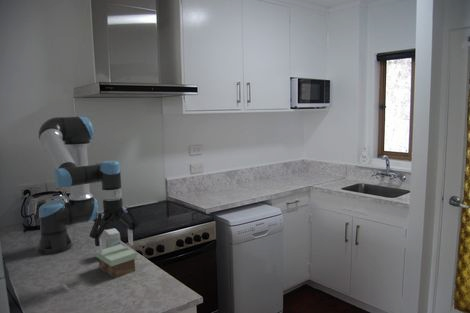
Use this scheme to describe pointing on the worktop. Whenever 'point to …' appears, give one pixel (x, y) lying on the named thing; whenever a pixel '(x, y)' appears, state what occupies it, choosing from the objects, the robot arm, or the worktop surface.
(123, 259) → the lid
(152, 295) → the worktop surface
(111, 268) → the box
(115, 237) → the ink box
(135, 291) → the worktop surface
